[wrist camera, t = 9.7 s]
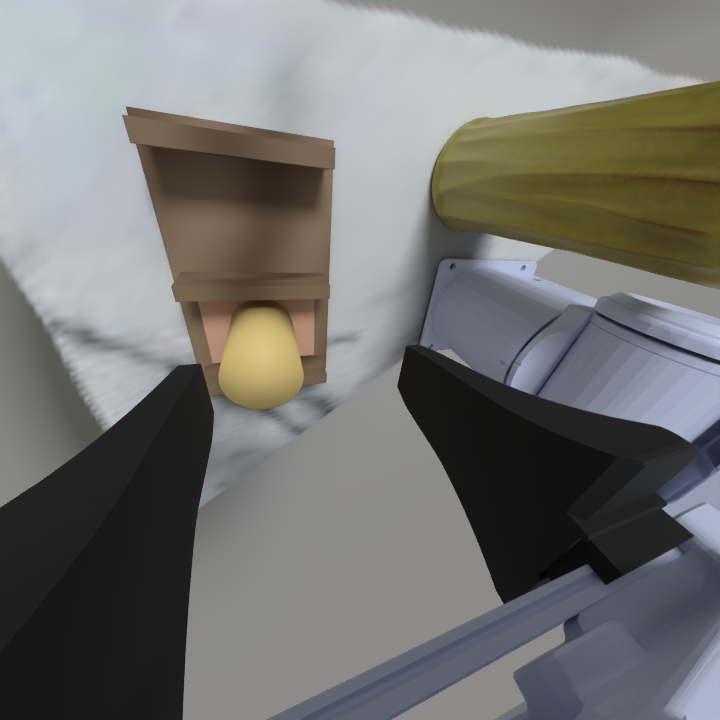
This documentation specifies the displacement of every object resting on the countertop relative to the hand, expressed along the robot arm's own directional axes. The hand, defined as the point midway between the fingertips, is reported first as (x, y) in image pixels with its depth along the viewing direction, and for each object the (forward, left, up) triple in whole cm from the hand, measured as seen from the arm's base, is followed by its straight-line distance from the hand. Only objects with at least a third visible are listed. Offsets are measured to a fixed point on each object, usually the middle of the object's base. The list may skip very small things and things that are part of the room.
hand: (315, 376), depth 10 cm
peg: (+2, +3, -10) cm, 10 cm away
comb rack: (+2, 0, -10) cm, 11 cm away
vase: (-12, -7, -11) cm, 18 cm away
